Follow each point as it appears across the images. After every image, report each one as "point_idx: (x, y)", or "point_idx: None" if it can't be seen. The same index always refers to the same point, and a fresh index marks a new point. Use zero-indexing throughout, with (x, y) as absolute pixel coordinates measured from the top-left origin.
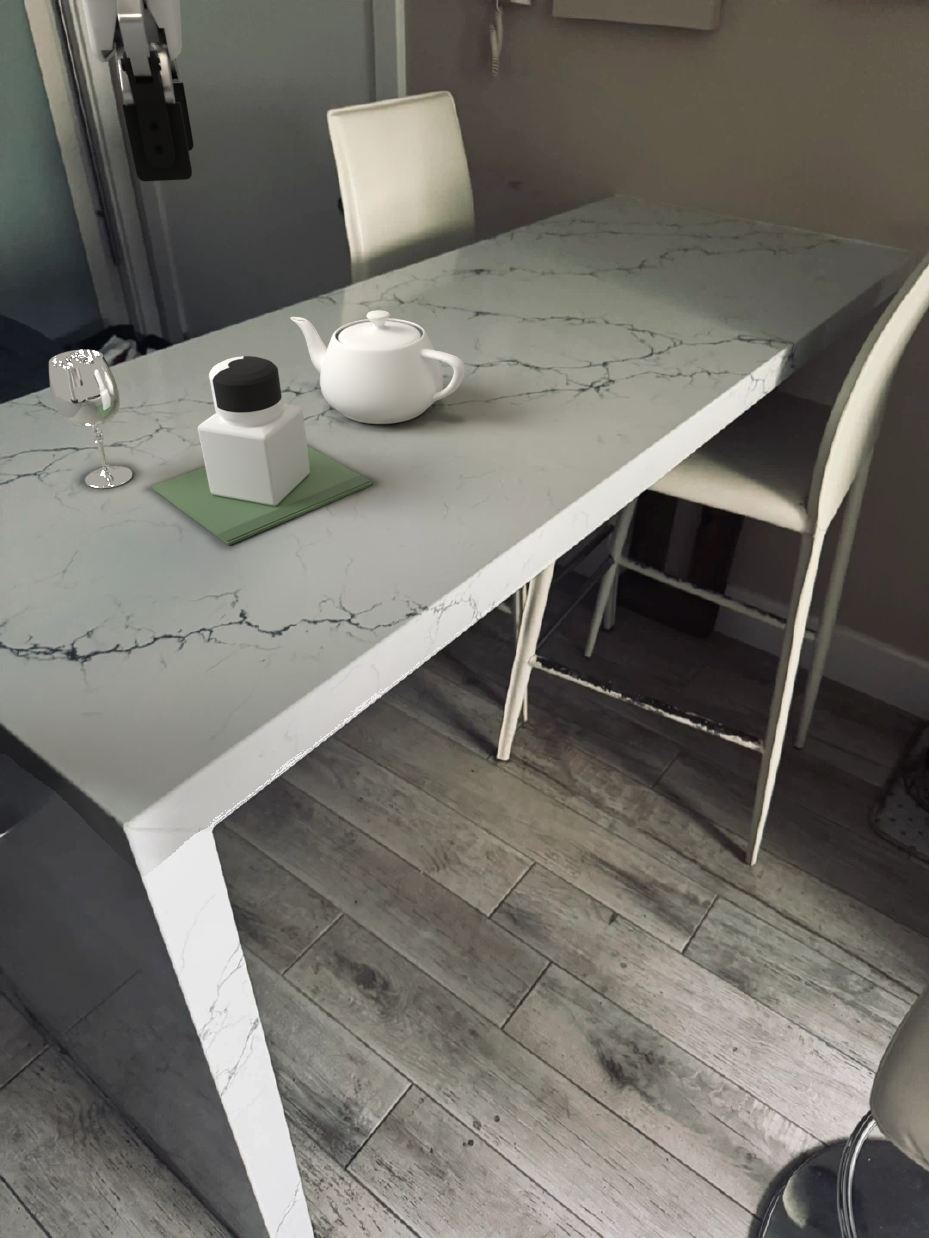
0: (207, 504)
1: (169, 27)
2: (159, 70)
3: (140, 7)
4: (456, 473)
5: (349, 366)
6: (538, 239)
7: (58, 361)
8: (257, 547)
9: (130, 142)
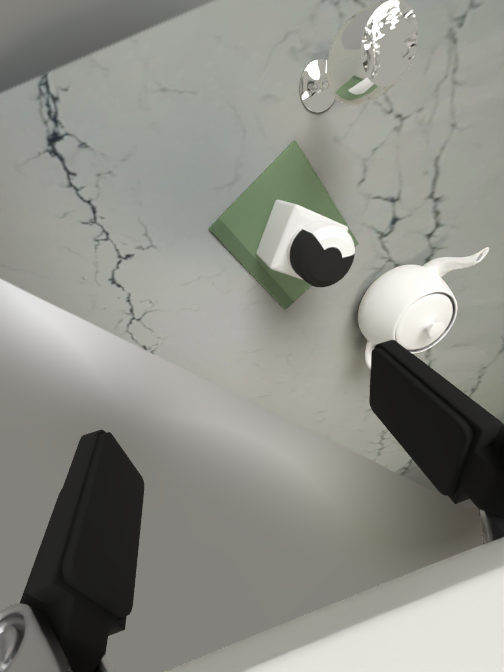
0: (262, 199)
1: None
2: (500, 503)
3: None
4: (293, 352)
5: (392, 302)
6: None
7: (404, 9)
8: (208, 249)
9: (61, 495)
